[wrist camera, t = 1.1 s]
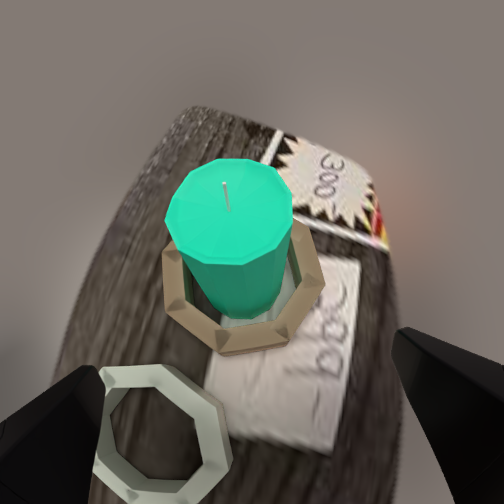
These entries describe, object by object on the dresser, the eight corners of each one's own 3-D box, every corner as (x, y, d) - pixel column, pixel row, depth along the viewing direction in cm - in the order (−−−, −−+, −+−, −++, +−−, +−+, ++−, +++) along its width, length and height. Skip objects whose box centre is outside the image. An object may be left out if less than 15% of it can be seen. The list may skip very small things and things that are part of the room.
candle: (244, 235, 24) (231, 120, 13) (296, 283, 22) (328, 184, 11) (190, 281, 22) (130, 187, 11) (240, 336, 20) (214, 282, 9)
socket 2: (336, 265, 22) (346, 249, 20) (260, 381, 18) (260, 382, 16) (229, 202, 25) (225, 181, 23) (148, 297, 22) (134, 285, 19)
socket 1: (259, 427, 17) (259, 435, 14) (177, 516, 13) (167, 531, 10) (143, 340, 20) (127, 333, 17) (78, 429, 16) (57, 432, 14)
